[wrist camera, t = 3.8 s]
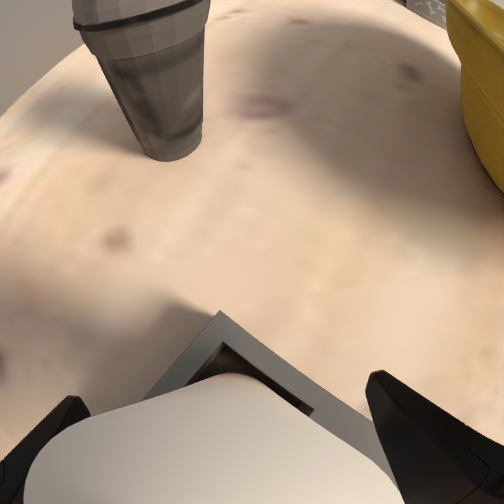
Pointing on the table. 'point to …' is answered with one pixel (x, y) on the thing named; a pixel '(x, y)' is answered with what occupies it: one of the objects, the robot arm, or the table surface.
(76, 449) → the white lotion bottle
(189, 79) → the beverage cup
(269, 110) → the table surface
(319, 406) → the charging dock
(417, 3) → the dog bowl
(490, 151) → the planter bowl
